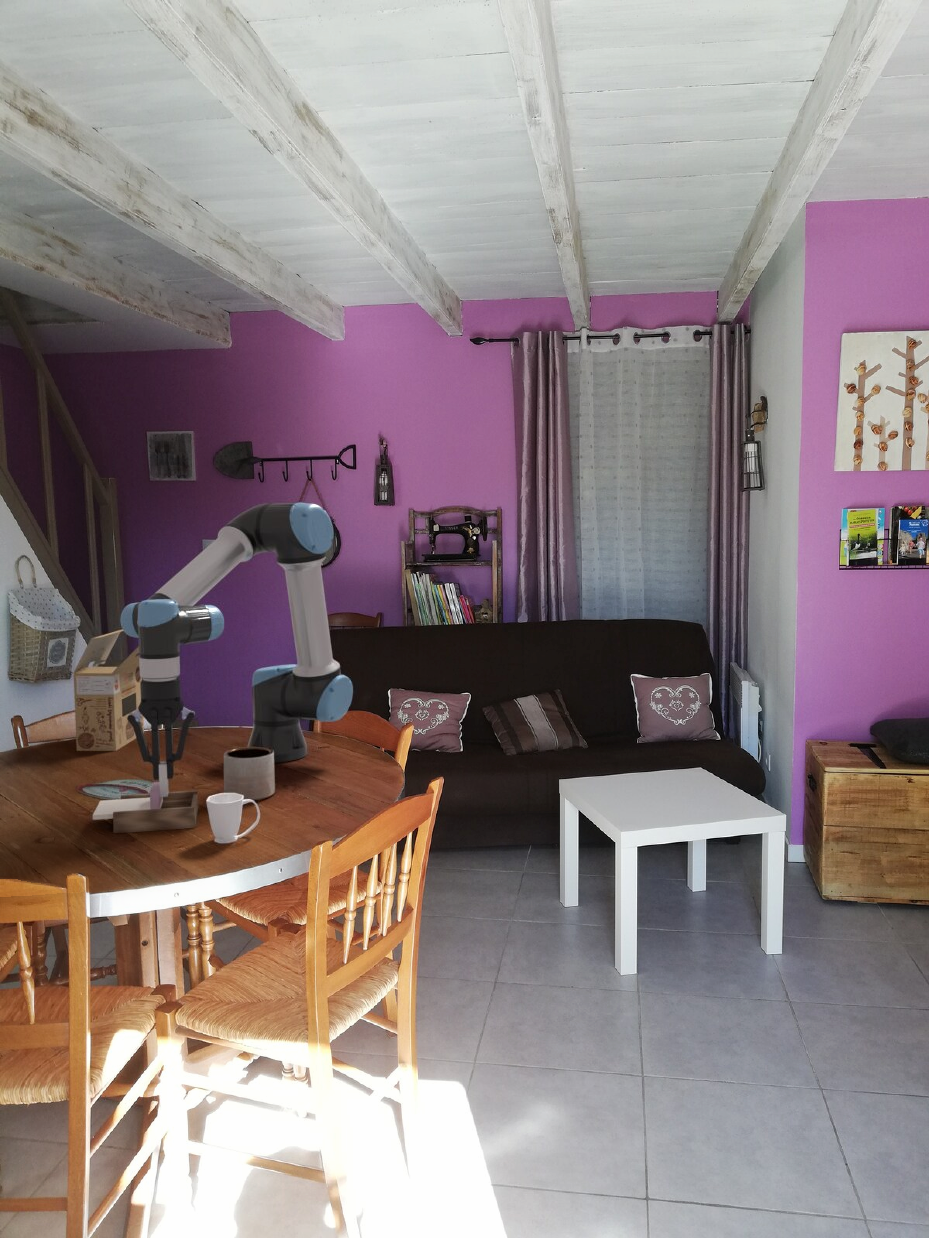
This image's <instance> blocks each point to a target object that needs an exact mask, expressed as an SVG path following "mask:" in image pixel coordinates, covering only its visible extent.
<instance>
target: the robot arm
mask: <svg viewBox="0 0 929 1238" xmlns="http://www.w3.org/2000/svg"><path fill="white" fill-rule="evenodd" d="M333 539H334V527H333V523H332V519H331V518H330V516H329V514H328V512H327V511H326V510H325V509H323V507H322V506H320V505H318V504H315V503H307V502H302V501H301V502H280V503H272V502H270V503H261V504H258V505H255V506H252V507H251V508H249V509H246V510H245V511H243V512H242V513H240V514H238V515H237V516H235V517H234V518H233V519H231V520H230V521H229V522H228V523H226V524H225V525H224V526H223V527H222V528H220V530H219V531H218V533H217V538H216V539H215V540H214V541H213V542H211V544H209V545H207V547H206V548H205V549H203V551H202V550H201V552H200V553H198V555H197V556H195V557H194V558H193V559H192V560H191V561H190V562H189V563H187V564H186V565H185V566H184V567H183V568H182V569H181V570H180V571H178V572H177V573H176V574H175V575H173V576H172V577H171V579H169V580H168V581H167V582H166V583H165V584H164V585H162V586H161V587H160V588H159V589H158V590H157V591H156V592H154V594H152V595H151V596H150V597H149V598H148V599H146V600H141V602H140V601H139V602H134V603H133V602H132V603H130V604H127V605H126V606H125V607H124V608H123V609H122V611H121V614H120V625H121V628H122V629H121V630H124V631H123V632H124V633H125V634H126V635H127V636H128V637H130V638H131V637H132V638H137V639H138V646H139V653H138V655H139V656H140V657H139V663H140V677H141V678H142V680H141V682H140V690H141V702H140V705H139V707H138V710H136V711H135V712H133V713H130V714H129V715H128V717H127V720H128V721H129V722H130V724H131V725H132V726H133V729H134V732H135V735H136V739H135V740H136V742H137V745H138V748H139V752H140V755H141V759H142V760H143V762H145V763H150V764H151V765H152V778H153V780H156V781H157V780H158V782H159V789H160V797H168V793H169V792H170V791H169V780H172V779H173V777H174V775H175V773H174V772H175V771H174V768H175V767H174V763H175V762H177V761H180V760H182V757H183V755H184V750H185V745H186V742H187V741H186V740H187V738H188V737H187V735H188V732H189V727H190V724H191V722H192V721H193V719H194V718H195V715H196V712H195V710H193V709H188V708H187V707H185V705H184V702H183V700H182V696H181V694H182V693H181V679H180V678H179V676H180V675H181V666H180V665H181V664H180V662H181V660H180V657H181V656H180V646H182V645H189V644H196V643H202V642H204V643H207V642H210V641H213V640H216V639H218V638H219V637H221V635H222V634H223V631H224V629H225V618H224V614H223V613H222V611H221V610H220V609H219V608H218V607H217V606H215V605H213V604H199V605H196V604H197V603H198V602H199V601H200V600H201V599H202V598H203V597H204V596H205V595H206V594H208V593H209V592H210V591H211V590H212V589H213V588H214V587H215V586H216V585H217V584H218V583H220V581H221V580H222V579H224V578H225V577H226V576H227V575H228V574H229V573H230V572H231V571H233V570H234V569H235V568H236V567H237V566H238V565H239V564H240V563H246V562H249V560H251V559H252V557H254V556H255V555H258V554H261V553H275V556H276V563H277V564H278V565H279V566H280V567H281V568H283V570H284V574H285V580H286V587H287V589H286V590H287V595H288V603H289V611H290V618H291V624H292V630H293V637H294V638H293V639H294V640H293V641H294V646H295V653H296V659H297V661H296V662H297V664H296V663H295V664H292V663H291V664H279V665H274V666H273V665H272V666H267V667H261V668H258V669H256V670H255V671H254V672H253V674H252V684H251V691H252V693H251V695H252V717H253V720H252V722H253V726H252V731H251V733H250V737H249V740H248V742H247V743H248V744H247V746H246V747H265V748H269V749H272V750H273V751H274V763H281V762H289V761H294V760H299V759H302V758H304V757H306V756H307V755H308V745H307V742H306V739H305V737H304V733H303V730H302V728H301V722H300V719H303V720H312V721H318V722H321V723H324V722H331V723H332V722H337V721H339V720H341V719H342V718H343V717H344V716H345V714H347V712H348V710H349V707H350V706H351V704H352V701H353V696H354V695H353V694H354V689H353V688H354V686H353V682H352V681H351V679H350V677H348V676H346V675H345V674H342V673H341V665H340V662H338V661H337V660H335V659H334V658H333V657H334V656H333V650H332V643H331V636H330V635H331V634H330V628H329V627H330V626H329V619H328V618H329V617H328V611H327V603H326V598H325V597H326V596H325V588H324V587H325V586H324V581H323V574H322V566H321V565H322V563H323V562H324V561H325V559H326V558H327V555H326V552H328V551H329V549H330V548H331V546H332V545H333V542H332V540H333ZM181 713H182V716H181V719H182V720H183V723H182V726H181V731H180V736H179V740H178V743H177V744H178V745H177V750H176V752H174V739H173V738H174V737H173V734H174V733H173V724H174V722H175V721H176V720H177V718H178V717H179V715H180V714H181ZM141 714H142V715H143V717H144V720H146V721H147V723H149V724H150V732H151V752H152V753H150V749H149V747H148V743H147V740H146V737H145V732H144V733H143V729H142V726H141V723H140V720H141V716H140V715H141ZM161 725H163V726H164V734H165V735H164V736H165V737H164V739H165V761H164V760H163V761H161V760H160V759H161V754H160V751H161V749H160V726H161Z"/></svg>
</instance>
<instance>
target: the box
mask: <svg viewBox="0 0 929 1238" xmlns="http://www.w3.org/2000/svg"><path fill="white" fill-rule="evenodd" d="M121 632H124V630H123V629H119V630H115V631H113V632H110V633H109V632H108V633H106V634H102V635H99V636H95V637H92V638H90V640H89V642H88V643H87V646H86V647H85V650H84V651H83V653H82V655H81V657H80V659H79V661H78V663H77V665H76V667H75V668H74V671H73V693H74V694H73V696H74V697H73V698H74V717H75V719H74V721H75V736H76V738H75V739H76V740H75V743H76V751H78V752H79V751H80V752H83V751H84V752H91V751H92V752H97V751H98V752H112V751H113V752H116V751H118V750H120V749H121V748H123V747H125V746H126V745H128V744H129V743H131V742H132V741H134V740H137V739H136V735H135V732H134V729H133V726H132V725H131V724H130V722H129V721H128V720H127V717H128V715H129V714H130V713H133V712H135V711H136V710H138V707H139V705H140V702H141V690H140V682H141V680H143V678H141V677H140V663H139V657H140V656H139V645H138V646H137V647H136V648H135V649H134V650H133V651H132V652H131V653H130V654H129V655H128V656H127V658H125V660H118V659H117V660H108V657H109V655H110V654H111V650H112V649H113V647H114V645H115V644H116V641H118V640H117V639H118V637H119V635H120V633H121ZM93 662H94V663H93ZM91 663H92V666H90V664H91ZM140 716H141V720H140V723H141V726H142V729H143V733H144V734H145V722H144V721H145V718H144V717H143V715H142V714H141V715H140Z"/></svg>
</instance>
